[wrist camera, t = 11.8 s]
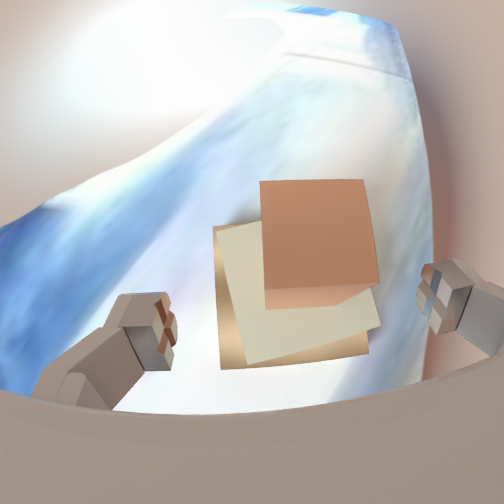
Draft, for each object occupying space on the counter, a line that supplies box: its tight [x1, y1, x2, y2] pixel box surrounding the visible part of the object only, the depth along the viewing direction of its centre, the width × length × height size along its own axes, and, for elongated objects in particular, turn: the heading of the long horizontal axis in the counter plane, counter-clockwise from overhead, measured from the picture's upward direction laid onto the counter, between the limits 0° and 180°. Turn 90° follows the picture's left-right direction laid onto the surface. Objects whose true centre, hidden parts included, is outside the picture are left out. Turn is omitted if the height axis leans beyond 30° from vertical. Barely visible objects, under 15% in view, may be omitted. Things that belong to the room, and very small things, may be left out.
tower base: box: [213, 223, 369, 370], centre depth 24 cm, size 11×11×3 cm
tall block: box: [260, 179, 379, 310], centre depth 16 cm, size 4×4×8 cm
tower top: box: [216, 221, 381, 365], centre depth 21 cm, size 9×9×3 cm
